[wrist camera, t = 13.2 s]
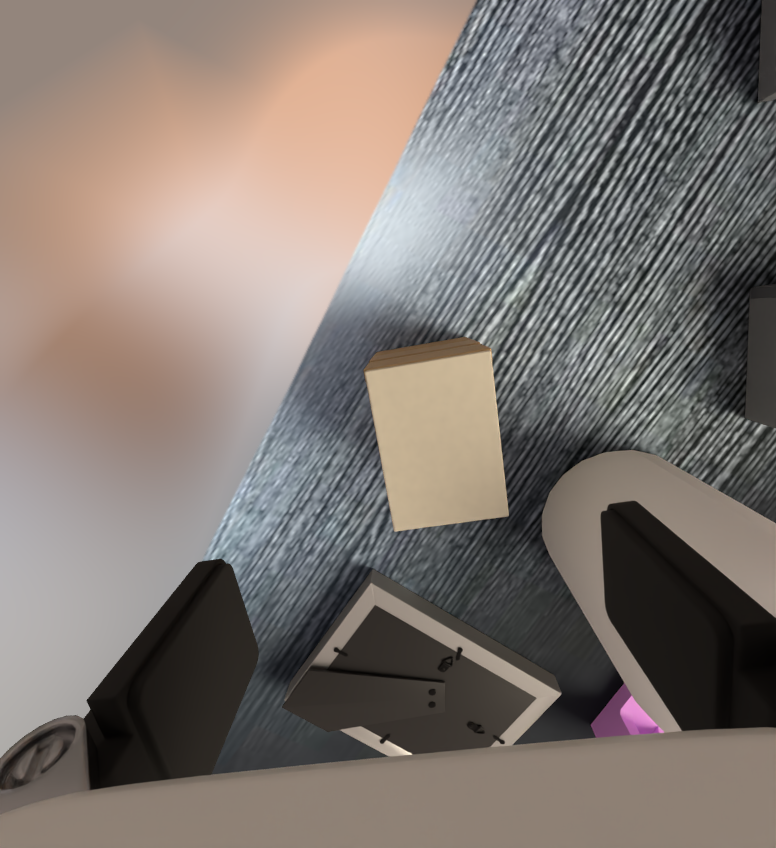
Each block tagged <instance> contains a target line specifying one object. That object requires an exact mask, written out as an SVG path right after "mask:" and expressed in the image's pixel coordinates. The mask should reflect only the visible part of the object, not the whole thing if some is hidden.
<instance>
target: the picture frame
mask: <svg viewBox="0 0 776 848" xmlns="http://www.w3.org/2000/svg"><path fill="white" fill-rule="evenodd" d="M561 694H562V693H561V691H560V688H559V686H558V683H557V681H556V678H555V676H554V675H553V674H551V673H549V672H548V671H546V670H544V669H543V668H541V667H539V666H537V665H536V664H534V663H532V662H531V661H529V660H527V659H526V658H524V657H522V656H520V655H519V654H517V653H515V652H514V651H512V650H510V649H509V648H507V647H505V646H503V645H502V644H500V643H498V642H497V641H495V640H493V639H491V638H490V637H488V636H486V635H485V634H483V633H481V632H480V631H478V630H476V629H474V628H473V627H471V626H469V625H468V624H466V623H464V622H463V621H461V620H459V619H457V618H456V617H454V616H452V615H451V614H449V613H447V612H445V611H444V610H442V609H440V608H439V607H437V606H435V605H434V604H432V603H430V602H428V601H427V600H425V599H423V598H422V597H420V596H418V595H417V594H415V593H413V592H411V591H410V590H408V589H406V588H405V587H403V586H401V585H399V584H398V583H396V582H394V581H393V580H391V579H389V578H388V577H386V576H384V575H382V574H381V573H379V572H377V571H376V570H374V569H372V571H371V572H370V574H369V575H368V576H367V578H366V579H365V580H364V582H363V583H362V585H361V586H360V587H359V589H358V590H357V591H356V593H355V594H354V595H353V597H352V598H351V600H350V601H349V602H348V604H347V605H346V606H345V608H344V609H343V611H342V612H341V613H340V615H339V616H338V617H337V619H336V620H335V621H334V623H333V624H332V626H331V627H330V628H329V630H328V631H327V632H326V634H325V635H324V637H323V638H322V639H321V641H320V642H319V643H318V645H317V646H316V647H315V649H314V650H313V652H312V653H311V654H310V656H309V657H308V658H307V660H306V661H305V663H304V664H303V665H302V667H301V668H300V669H299V671H298V672H297V673H296V675H295V676H294V678H293V679H292V680H291V682H290V684H289V687H288V690H287V693H286V697H285V703H284V704H283V706H282V708H284V709H286V710H288V711H290V712H292V713H293V714H295V715H297V716H299V717H301V718H303V719H305V720H307V721H308V722H310V723H312V724H314V725H316V726H318V727H320V728H322V729H323V730H325V731H327V732H330V731H336V730H341V731H343V732H344V733H346V734H348V735H350V736H352V737H354V738H356V739H358V740H359V741H361V742H363V743H365V744H367V745H369V746H371V747H372V748H374V749H376V750H378V751H380V752H382V753H384V754H385V755H387V756H389V757H393V756H403V755H414V754H424V753H435V752H445V751H456V750H466V749H477V748H488V747H499V746H510V745H513V743H514V742H515V741H516V740H517V739H518V738H519V737H520V736H521V735H522V734H523V733H524V732H525V731H526V730H527V729H528V728H529V727H530V726H531V725H532V724H533V723H534V722H535V721H536V720H537V719H538V718H539V717H540V716H541V715H542V714H543V713H544V712H545V711H546V710H547V709H548V708H549V707H550V706H551V705H552V704H553V703H554V701H555V700H556V699H557V698H558V697H559V696H560V695H561Z"/></svg>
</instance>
